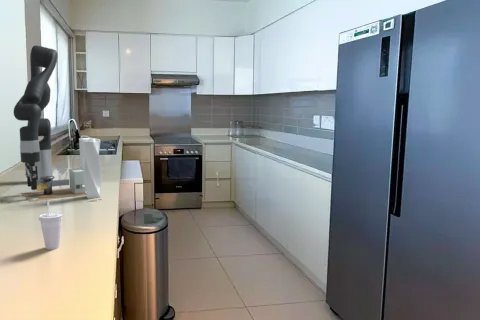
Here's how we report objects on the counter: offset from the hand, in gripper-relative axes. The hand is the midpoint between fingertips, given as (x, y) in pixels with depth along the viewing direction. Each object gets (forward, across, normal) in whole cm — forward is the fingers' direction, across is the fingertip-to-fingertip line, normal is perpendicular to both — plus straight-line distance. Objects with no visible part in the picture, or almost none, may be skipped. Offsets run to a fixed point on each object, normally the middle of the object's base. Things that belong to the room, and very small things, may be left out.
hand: (32, 188), depth 190 cm
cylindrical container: (+5, -3, +25) cm, 26 cm away
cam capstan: (+3, 0, +5) cm, 7 cm away
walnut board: (+5, -1, +9) cm, 10 cm away
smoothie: (+5, +71, -7) cm, 72 cm away
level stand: (+4, 0, +19) cm, 19 cm away
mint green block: (+4, +6, -1) cm, 7 cm away
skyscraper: (+5, +15, +22) cm, 27 cm away
